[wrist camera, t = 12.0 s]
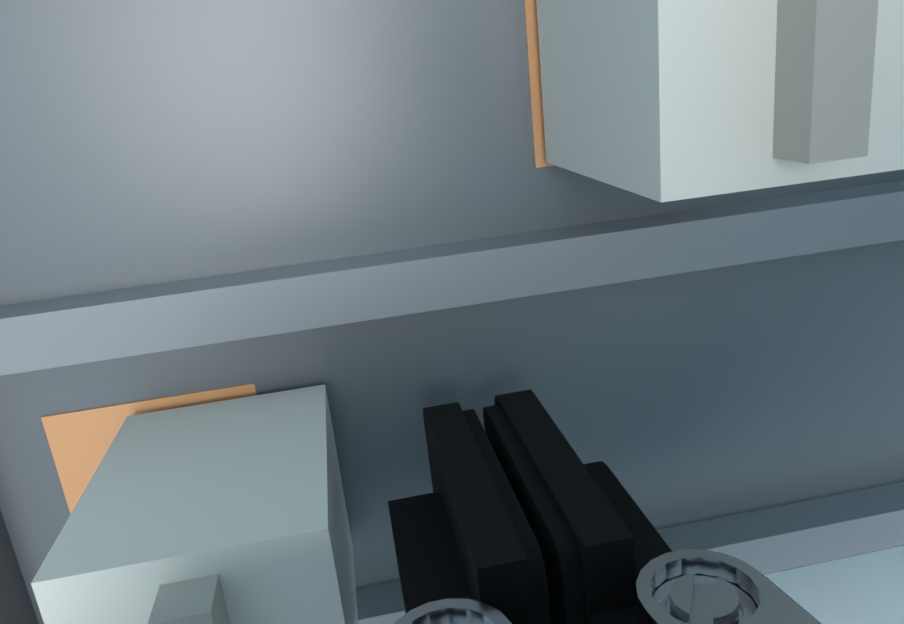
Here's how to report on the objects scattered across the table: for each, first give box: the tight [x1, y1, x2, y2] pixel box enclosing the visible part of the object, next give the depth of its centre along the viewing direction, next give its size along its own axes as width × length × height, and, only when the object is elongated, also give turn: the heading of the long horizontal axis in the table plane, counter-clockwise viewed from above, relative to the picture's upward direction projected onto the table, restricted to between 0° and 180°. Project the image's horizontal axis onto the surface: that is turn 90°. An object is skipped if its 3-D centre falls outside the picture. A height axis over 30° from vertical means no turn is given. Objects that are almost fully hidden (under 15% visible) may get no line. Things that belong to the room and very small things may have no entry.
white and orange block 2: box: [536, 0, 904, 202], centre depth 9 cm, size 3×3×5 cm
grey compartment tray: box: [0, 0, 904, 624], centre depth 11 cm, size 20×19×3 cm
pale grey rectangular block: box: [31, 384, 358, 624], centre depth 10 cm, size 3×3×5 cm
